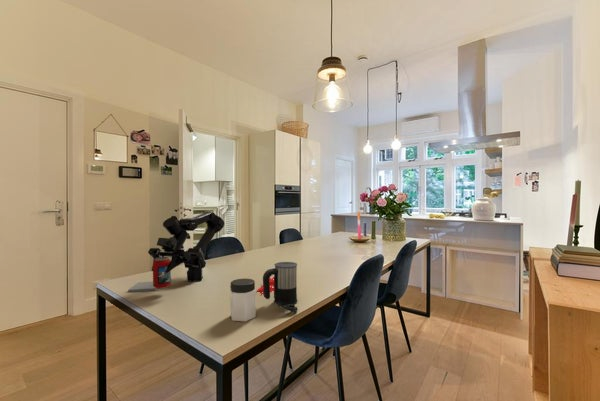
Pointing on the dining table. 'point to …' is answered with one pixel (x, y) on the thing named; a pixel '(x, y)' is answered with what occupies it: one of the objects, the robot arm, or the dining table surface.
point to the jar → (242, 299)
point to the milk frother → (282, 285)
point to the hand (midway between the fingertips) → (159, 271)
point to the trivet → (142, 287)
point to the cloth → (270, 287)
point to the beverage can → (161, 272)
